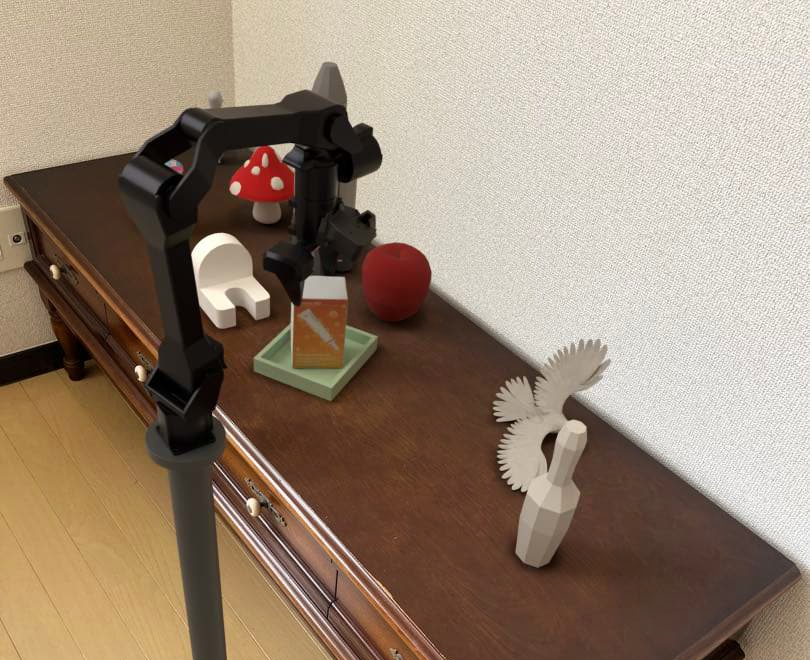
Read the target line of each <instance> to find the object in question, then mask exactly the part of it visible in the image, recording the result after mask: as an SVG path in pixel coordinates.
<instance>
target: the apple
mask: <svg viewBox="0 0 810 660" xmlns="http://www.w3.org/2000/svg"><path fill="white" fill-rule="evenodd" d="M432 273H433V271H432V268H431V265H430V261H429V260H428V258H427V256H426V255H425V254H424V253H423V252H422V251H421V250H419V249H418V248H416V247H415V246H413V245H411V244H408V243H406V242H397V241H394V242H387V243H384V244H380V245H378V246H377V247H374V248H373V249H372V250H370V251H369V252H368V253H367V254H366V256H365V258H364V260H363V262H362V267H361V278H362V282H361V283H362V290H363V294H364V297H365V300H366V305H367V306H368V308H369V310H370V312H371V313H372V314H374V315H375V316H376V317H377V318H378V319H380V320H381V321H384V322H388V323H395V322H399V321H400V322H401V321H402V320H405V319H407V318H410V317H412V316H414V315H415V314H416V313H417V312H418V311H419V309H420V308H421V306H422V305H423V303H424V302H425V299H426V298H427V296H428V295H429V294H428V293H429V290H430V286H431V281H432Z"/></svg>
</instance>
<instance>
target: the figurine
mask: <svg viewBox="0 0 810 660" xmlns="http://www.w3.org/2000/svg"><path fill="white" fill-rule="evenodd" d="M207 102H208V105H207V106H206V107H205V108H204V109H210V108H222V106H223V102H224V99H223V95H222V93H221V92H220V91H219V90H216V89H212V90H210V91H209V92H208V94H207ZM224 155H225V152H224V153H223V154H222V156H221V157H220V158H219V160H218V164H221V160H222V157H223V156H224Z"/></svg>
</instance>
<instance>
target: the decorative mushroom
mask: <svg viewBox="0 0 810 660" xmlns="http://www.w3.org/2000/svg"><path fill="white" fill-rule="evenodd" d="M229 192H230V193H231V195H234V196H236V197H237V198H240V199H244V200H247V201H251V202H254V203H253V207H252V217H253V219H254V220H256V221H257V222H258V223H260V224H266V225H270V224H271V225H272V224H275V223H277V222H278V221H279V220H281V218H282V217H281V216H282V209H281V206H280V203H284V202H288V199H290V198H291V197H292V196H294V168H292V167H290V166H288V165H286V164H284V163H283V158H282V157H281V155H280V154H279V153H278V152H277V151H276V150H275V148H273V147H271V145H270V146H262V147H256V149H255V150H254V152H253V153H252V155H251V156H250V158H249V159H247V160H246V161H245V162H244V163H243V164H242V166H241V167H239V169H237V171H236V172H235V173H234V174H233V175H232V176H231V177H230V181H229Z"/></svg>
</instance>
